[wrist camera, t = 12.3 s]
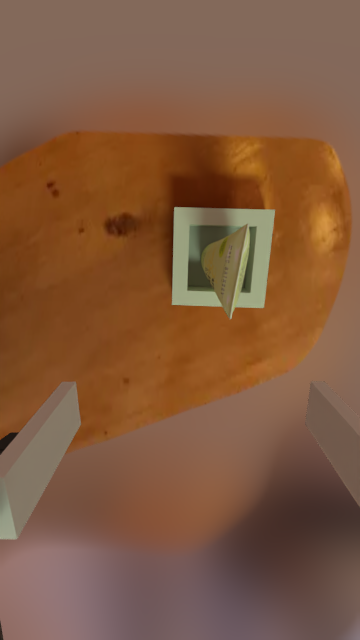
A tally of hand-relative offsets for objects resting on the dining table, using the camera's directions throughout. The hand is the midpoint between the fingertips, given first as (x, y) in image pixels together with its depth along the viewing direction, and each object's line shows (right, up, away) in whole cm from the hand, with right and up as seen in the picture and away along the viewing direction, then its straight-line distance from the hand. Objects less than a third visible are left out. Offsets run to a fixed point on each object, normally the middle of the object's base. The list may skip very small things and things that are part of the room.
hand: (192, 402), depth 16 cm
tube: (+5, +14, +25) cm, 29 cm away
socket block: (+5, +14, +25) cm, 29 cm away
